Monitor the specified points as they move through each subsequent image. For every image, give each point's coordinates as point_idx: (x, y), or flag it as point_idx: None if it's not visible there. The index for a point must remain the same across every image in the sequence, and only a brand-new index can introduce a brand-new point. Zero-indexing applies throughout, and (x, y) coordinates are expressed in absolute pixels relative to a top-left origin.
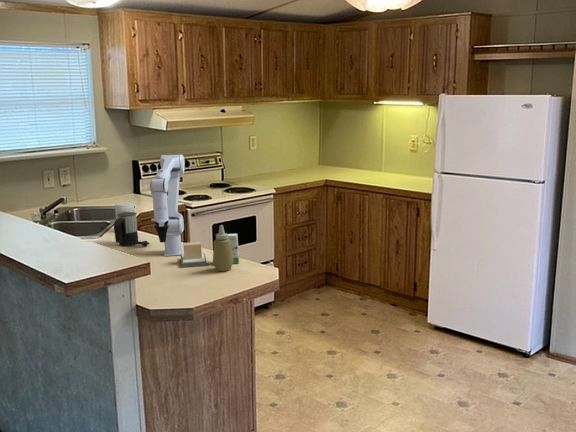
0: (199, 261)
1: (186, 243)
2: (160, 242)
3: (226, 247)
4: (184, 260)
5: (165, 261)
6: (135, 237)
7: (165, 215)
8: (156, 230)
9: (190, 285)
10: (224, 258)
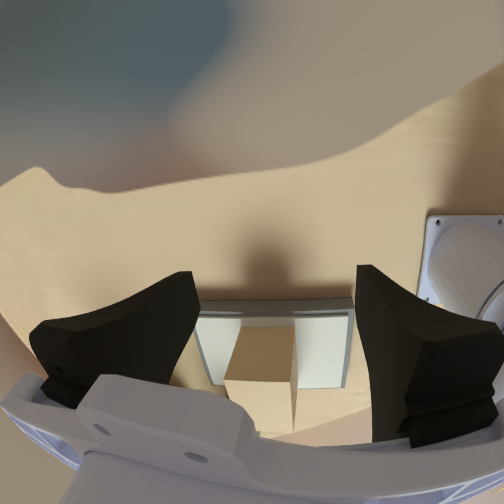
0: (208, 368)
1: (271, 392)
2: (179, 272)
3: None
4: (225, 324)
5: (326, 223)
6: None
7: None
8: (71, 317)
9: (44, 304)
10: None
